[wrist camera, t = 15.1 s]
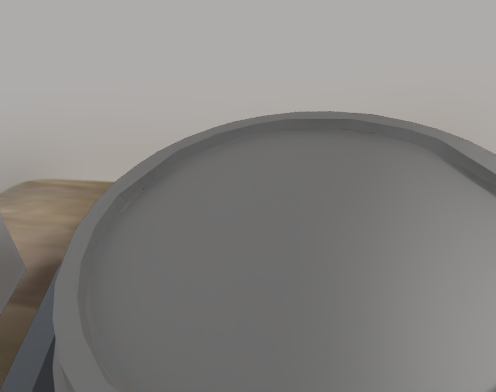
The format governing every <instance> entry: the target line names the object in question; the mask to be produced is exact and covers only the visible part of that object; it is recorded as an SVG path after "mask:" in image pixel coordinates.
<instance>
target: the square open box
mask: <svg viewBox="0 0 496 392" xmlns="http://www.w3.org/2000/svg"><path fill="white" fill-rule="evenodd" d="M60 267H61V266H58V268H57V271H56V273H55V275H54V277H53V279H52V281H51V283H50V285H49V287H48V290H47V292H46V294H45V296H44V298H43V300H42V302H41V304H40V306H39V309H38V311H37V313H36V315H35V317H34V319H33V321H32V323H31V325H30V328H29V330H28V332H27V334H26V336H25V338H24V340H23V342H22V344H21V347H20V349H19V351H18V353H17V355H16V357H15V359H14V361H13V363H12V366H11V368H10V370H9V372H8V374H7V376H6V378H5V380H4V382H3V384H2V387H1V389H0V392H55V388H54V377H53V359H54V349H55V340H56V337H55V331H54V325H53V305H54V290H55V282H56V279H57V276H58V273H59V270H60Z"/></svg>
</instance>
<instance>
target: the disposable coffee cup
mask: <svg viewBox="0 0 496 392" xmlns="http://www.w3.org/2000/svg"><path fill="white" fill-rule="evenodd" d="M53 325H54V331H55V337H56V340H55V349H54V359H53V377H54V388H55V392H496V154H494V153H492V152H490V151H488V150H486V149H484V148H482V147H480V146H478V145H476V144H474V143H472V142H470V141H468V140H465V139H463V138H460V137H457V136H455V135H452V134H449V133H446V132H444V131H441V130H438V129H435V128H432V127H428V126H424V125H420V124H417V123H413V122H409V121H403V120H399V119H393V118H388V117H384V116H378V115H373V114H361V113H360V114H359V113H346V112H331V111H328V112H294V113H285V114H276V115H268V116H261V117H256V118H251V119H246V120H241V121H236V122H232V123H228V124H225V125H221V126H218V127H215V128H212V129H209V130H206V131H204V132H201V133H198V134H195V135H193V136H190V137H187V138H185V139H183V140H181V141H179V142H177V143H174V144H172V145H170V146H168V147H167V148H164V149H162V150H160V151H158V152H157V153H155V154H154V155H152V156H150V157H149V158H147V159H146V160H144V161H143V162H141V163H139V164H138V165H137V166H135V167H134V168H133V169H131V170H130V171H129V172H127V173H126V174H125V175H123V176H122V177H121V178H119V179H118V180H117V181H116V182H115V183H114V184H113V185H112V186H111V187H110V188H109V189H108V190H107V191H106V192H105V193H104V194H103V195H102V196H101V197H100V198H99V199H98V200H97V201H96V202H95V204H94V205H93V206H92V208H91V209H90V210H89V212H88V213H87V214H86V216H85V217H84V218H83V220H82V221H81V222H80V224H79V225H78V226H77V228H76V230H75V233H74V235H73V237H72V240H71V242H70V244H69V247H68V249H67V251H66V254H65V256H64V259H63V262H62V265H61V267H60V270H59V273H58V276H57V279H56V282H55V290H54V305H53Z"/></svg>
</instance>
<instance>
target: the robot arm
mask: <svg viewBox="0 0 496 392" xmlns="http://www.w3.org/2000/svg"><path fill="white" fill-rule="evenodd" d="M25 271H26V267H25V265H24V263H23V261H22V259H21V257H20V255H19V253H18V250H17V248H16V246H15V244H14V242H13V240H12V238H11V235H10V233H9V231H8V229H7V227H6V225H5V223H4V221H3V218H2V216H1V214H0V315H1V313H2V312H3V310H4V308H5V306H6V305H7V303H8V301H9V299H10V298H11V296H12V294H13V292H14V291H15V289H16V287H17V285H18V284H19V282H20V280H21V278H22V277H23V275H24V273H25Z"/></svg>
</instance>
